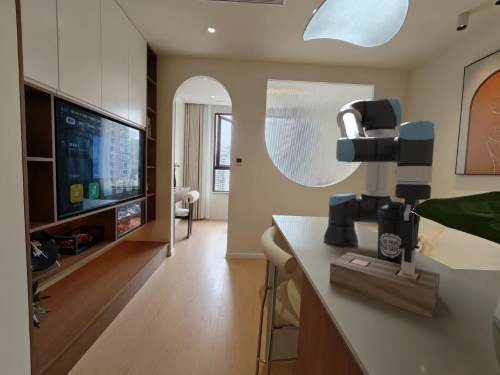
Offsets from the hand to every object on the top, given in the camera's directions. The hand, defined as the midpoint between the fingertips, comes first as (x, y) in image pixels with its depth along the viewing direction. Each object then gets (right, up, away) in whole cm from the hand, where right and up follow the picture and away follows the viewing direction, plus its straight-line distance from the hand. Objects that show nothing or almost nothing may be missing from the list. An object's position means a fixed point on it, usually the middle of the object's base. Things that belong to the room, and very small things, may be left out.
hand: (407, 272), depth 62 cm
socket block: (-5, -6, +4) cm, 9 cm away
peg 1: (-9, -6, +8) cm, 13 cm away
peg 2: (0, -6, 0) cm, 6 cm away
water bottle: (+7, -6, +19) cm, 21 cm away
